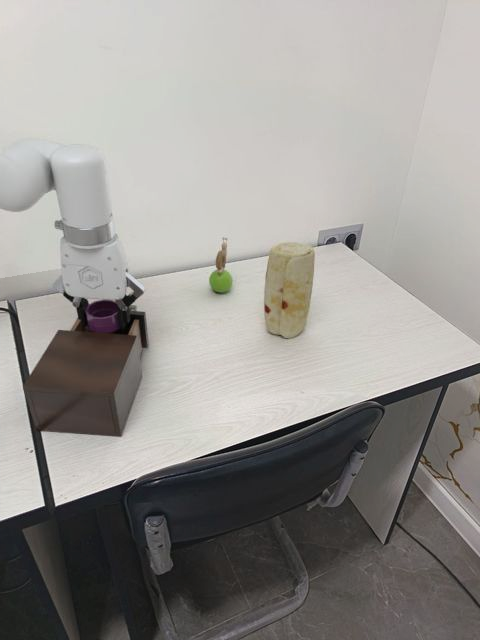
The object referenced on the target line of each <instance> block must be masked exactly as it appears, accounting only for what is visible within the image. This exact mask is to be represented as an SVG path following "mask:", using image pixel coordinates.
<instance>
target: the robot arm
mask: <svg viewBox="0 0 480 640" xmlns="http://www.w3.org/2000/svg"><path fill="white" fill-rule="evenodd" d="M52 191H55V192H56V193H55V194H56V197H57V198H56V199H57V202H58V207H59V212H60V217H61V219H60V220H54V228H55V230H60V231H62V234H63V236H62V237H61V238H60V244H59V245H60V246H59V248H60V249H59V250H60V251H59V253H60V255H59V256H60V267H61V275H60V276H59V277H57V279H55V281H53V284H52V287H53V289H55V290H56V291H57V292H59V293H60V294H62V295H63V297H64V298H65V299H66V300H68V301H69V302H70V303H72V307H74V308H76V309H75V310H76V315H77V318H78V319H79V320H81V325H82V327H86V326H87V320H86V315H85V309H86V307H87V305H89V304H90V303H89V300H88V299H92V300H93V299H94V300H113V301H115V302H116V303H117V305H118V306H119V309H118V311H117V314H118V321H119V328H120V329H123V330H124V328H125V326H126V324H127V323H129V321H130V312H129V306H130V305H134V303H135V302H136V301H137V300H138V299H139V298H140V297H142V296H143V295H144V294H145V291H146V287H145V286H144V285H143V284H141V283H140V282H139V280H138V279H136V278H135V277H133V276H132V274H130V268H129V264H128V259H127V255H126V252H125V248H124V246H123V243H122V240H121V238H120V235H119V234H116V230H115V223H114V217H113V209H112V201H111V193H110V185H109V178H108V171H107V163H106V159H105V155H104V154H103V152H102V151H101V150H100V149H99V148H97V147H95V146H93V145H89V144H84V143H83V144H82V143H81V144H80V143H75V144H74V143H73V144H63V143H58V142H54V141H50V140H46V139H41V138H38V137H37V138H36V137H24V138H20V139H18V140H16V141H14V142H13V143H12V144H10V145H9V146H7V147H5V148H4V149H2V150H0V209H1V210H3V211H7V212H11V213H20V212H24V211H27V210H29V209H31V208H33V206H35V205H36V204H37V203H38V202H39V201H40V200H41V199H42V198H43V197H44V196H45V195H46V194H48V193H50V192H52ZM128 288H130V289H131V290H132V291H131V292H129V294H128V293H127V292H128Z"/></svg>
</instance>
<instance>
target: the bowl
mask: <svg viewBox="0 0 480 640" xmlns="http://www.w3.org/2000/svg"><path fill="white" fill-rule="evenodd" d="M118 309H119V306H118V305H117V303H116V301H115V300H105V299H98V300H96V301H92V302H90V303H89V305H87V307H86V309H85V315H86V320H87V325H88V328H89V330H91V331H93V332H96V333H112V332H115V331H116V330H118V329H119V321H118V314H117V311H118Z"/></svg>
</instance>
